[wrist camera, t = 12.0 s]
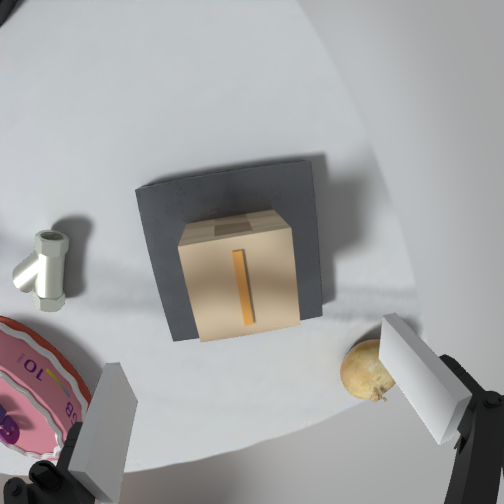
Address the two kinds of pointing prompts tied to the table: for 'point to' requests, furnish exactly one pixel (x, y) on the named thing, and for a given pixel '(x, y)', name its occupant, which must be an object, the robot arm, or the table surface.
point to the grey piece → (225, 205)
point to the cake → (37, 393)
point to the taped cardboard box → (240, 275)
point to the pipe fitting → (44, 270)
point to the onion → (365, 372)
